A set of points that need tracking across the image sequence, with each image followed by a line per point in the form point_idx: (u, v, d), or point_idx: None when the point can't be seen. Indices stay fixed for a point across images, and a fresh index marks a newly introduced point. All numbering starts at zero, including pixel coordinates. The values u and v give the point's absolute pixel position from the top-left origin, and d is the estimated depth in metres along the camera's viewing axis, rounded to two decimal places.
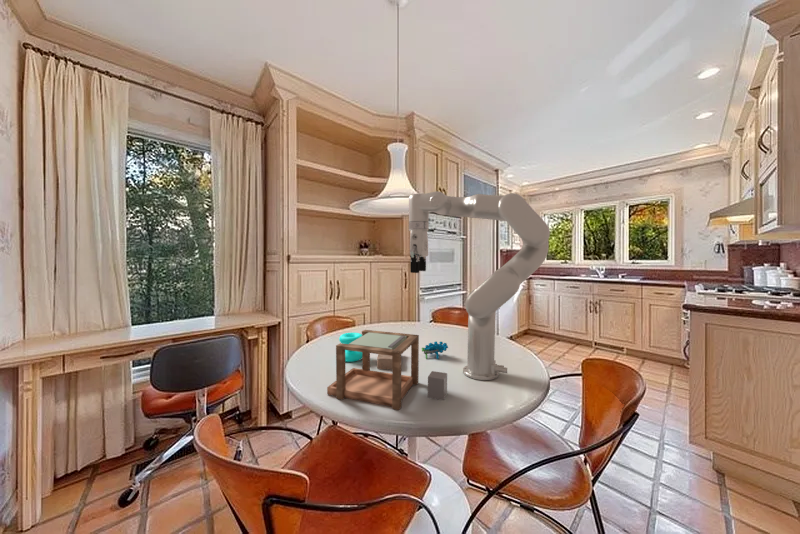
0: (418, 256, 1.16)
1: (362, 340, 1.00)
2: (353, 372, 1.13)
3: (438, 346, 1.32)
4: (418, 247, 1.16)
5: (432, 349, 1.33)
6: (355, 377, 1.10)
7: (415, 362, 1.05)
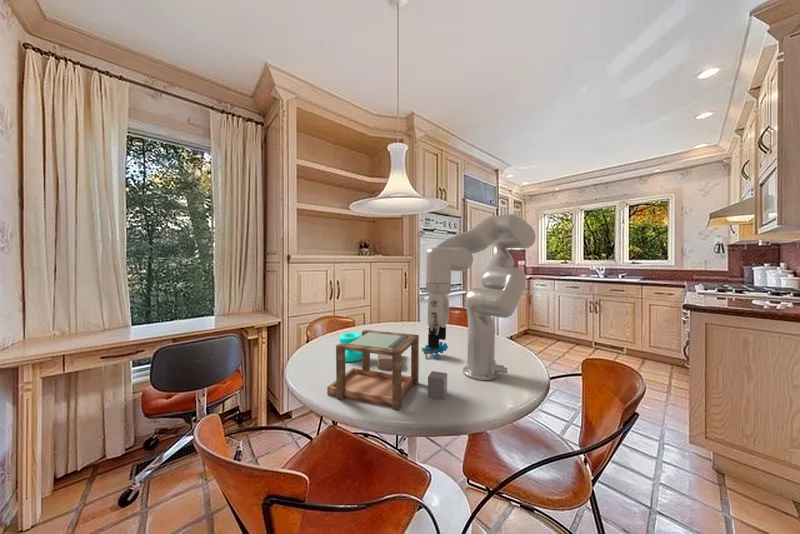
0: (438, 327, 0.92)
1: (362, 340, 1.00)
2: (353, 372, 1.13)
3: None
4: (438, 316, 0.92)
5: (432, 349, 1.33)
6: (355, 377, 1.10)
7: (415, 362, 1.05)
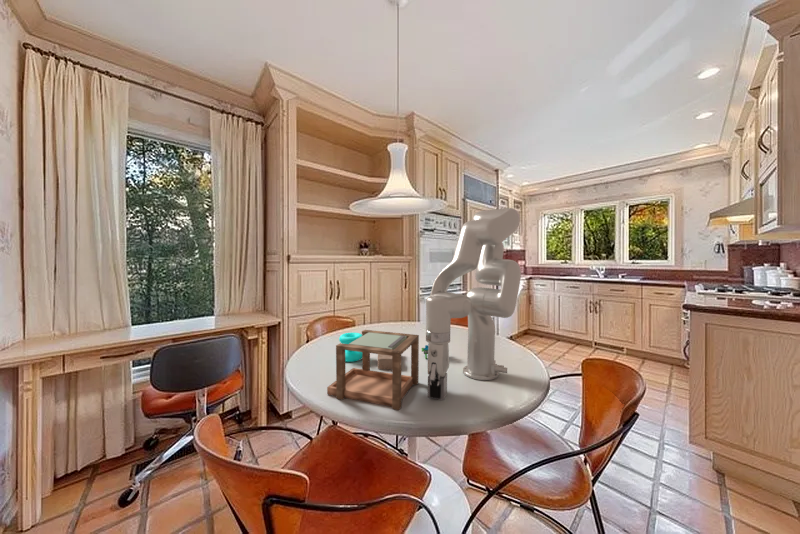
0: (439, 378, 0.94)
1: (362, 340, 1.00)
2: (353, 372, 1.13)
3: None
4: (438, 367, 0.93)
5: None
6: (355, 377, 1.10)
7: (415, 362, 1.05)
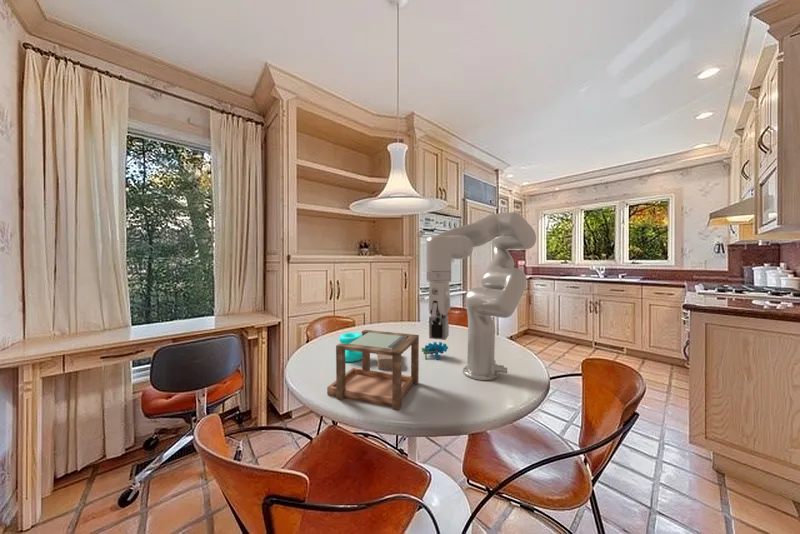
0: (441, 317, 0.94)
1: (362, 340, 1.00)
2: (353, 372, 1.13)
3: (438, 347, 1.31)
4: (440, 305, 0.92)
5: (432, 349, 1.33)
6: (355, 377, 1.10)
7: (415, 362, 1.05)
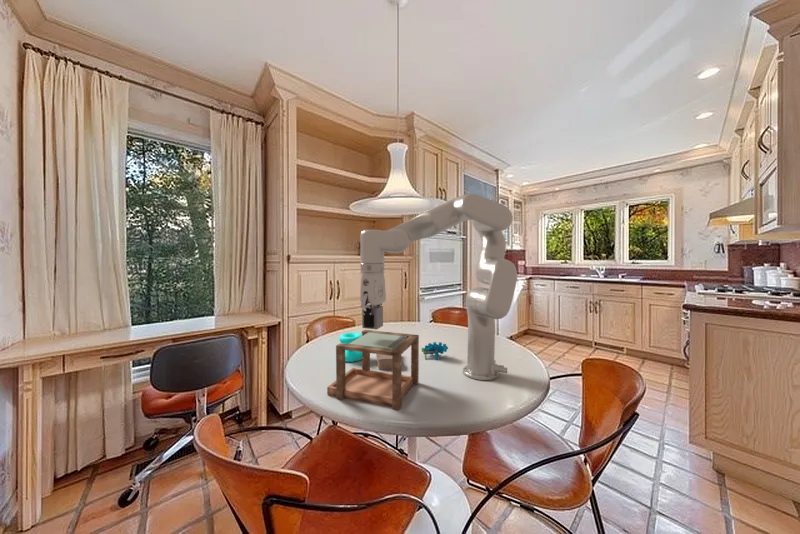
0: (372, 308, 0.98)
1: (362, 340, 1.00)
2: (353, 372, 1.13)
3: (437, 347, 1.31)
4: (370, 295, 0.96)
5: (432, 350, 1.33)
6: (355, 377, 1.10)
7: (415, 362, 1.05)
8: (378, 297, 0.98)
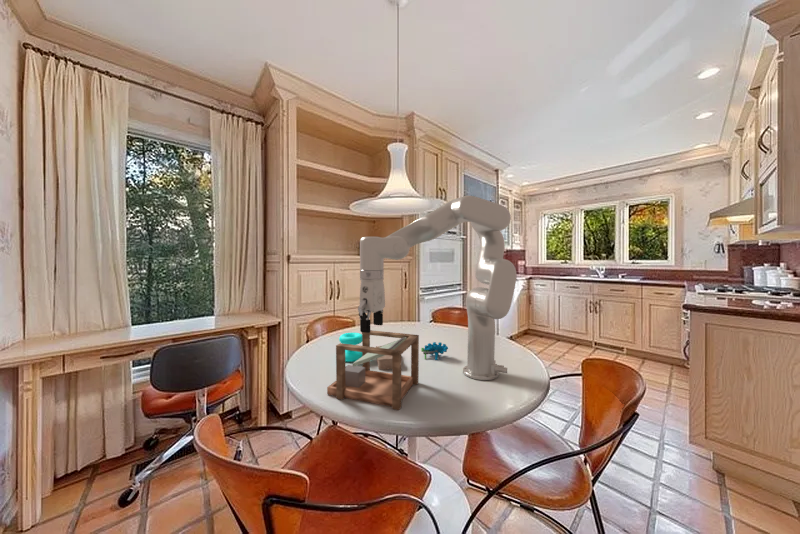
0: (369, 313, 0.96)
1: (365, 356, 1.00)
2: None
3: (437, 347, 1.30)
4: (369, 302, 0.96)
5: (432, 350, 1.32)
6: None
7: (415, 362, 1.05)
8: (377, 304, 0.98)
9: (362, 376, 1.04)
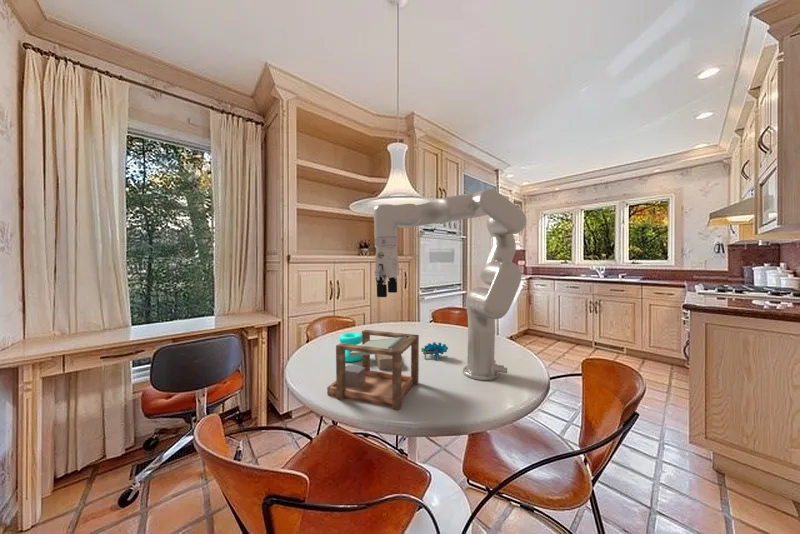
0: (385, 278, 0.99)
1: None
2: None
3: (437, 347, 1.30)
4: (385, 267, 0.99)
5: (432, 350, 1.32)
6: None
7: (415, 362, 1.05)
8: (392, 270, 1.02)
9: (362, 376, 1.04)
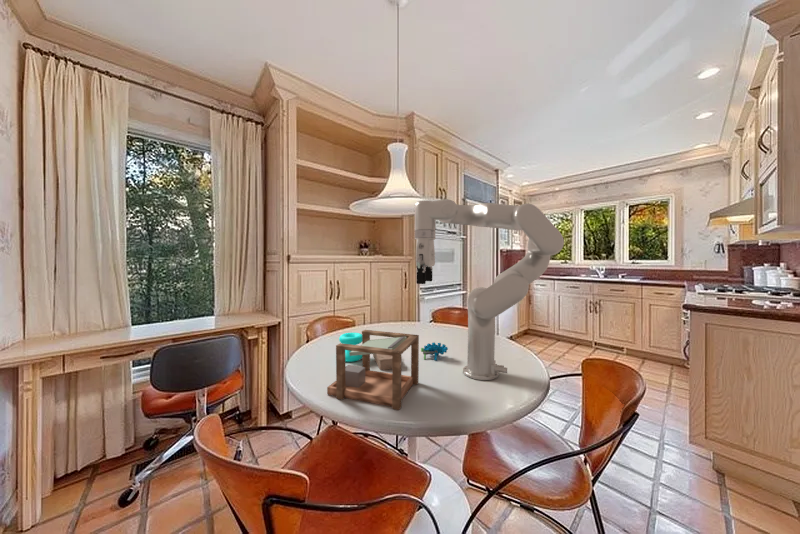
0: (425, 266, 1.10)
1: None
2: None
3: (437, 347, 1.30)
4: (425, 257, 1.10)
5: (431, 350, 1.32)
6: None
7: (415, 362, 1.05)
8: (431, 260, 1.12)
9: (362, 376, 1.04)
